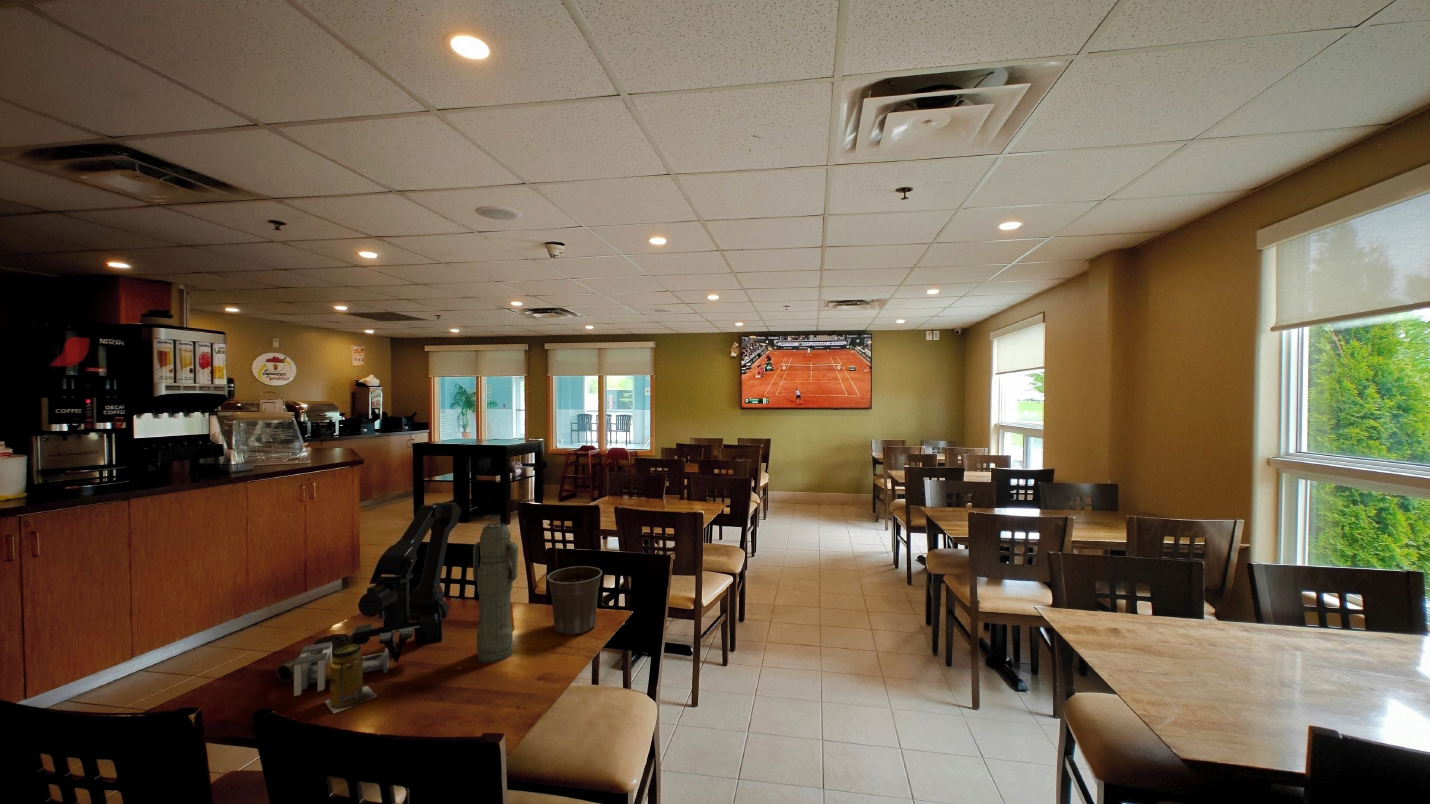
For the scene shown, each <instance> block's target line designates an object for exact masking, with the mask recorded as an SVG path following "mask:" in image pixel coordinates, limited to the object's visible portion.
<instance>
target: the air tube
mask: <svg viewBox="0 0 1430 804" xmlns="http://www.w3.org/2000/svg"><path fill="white" fill-rule="evenodd" d="M362 658H363V674H365V673H371V672H374V671H379V670H382V671H383V674H386V673H388V670H389V667H390V652H389V650H388V649H387V647H385V648H384V652H379V653H375V654H370V655H363V656H362ZM332 662H333V661H332ZM332 662H328V663H326V664H325V682H328V681H330V668H331V663H332ZM315 683H318V665H315V666H311V662H310V663H307V664H306V666H305V668H304V669H303V674H302V691H303V690H307V689H308V687H309V685H310V684H315Z"/></svg>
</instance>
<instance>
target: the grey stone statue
mask: <svg viewBox="0 0 1430 804" xmlns="http://www.w3.org/2000/svg"><path fill="white" fill-rule="evenodd" d="M510 553H511V556H510ZM518 553H519V547H518V545H517V544H516V542H512V540H511V531H510V530H509V526H508V525H507V524H505V523H503V522H502V523H501V522H495V523H489V524H486V525H485V526H483V527H482V530H481V534H480V538H479V541H477V542H475V544H474V545H473V547H472V576H473V581H474V582H475V583H476V584H477V586H476V591H477V594H478V599H479V601H478V602H479V603H478V606H479V607H478V611H479V612H478V615H479V616H478V630H477V633H476V650H477V657H476V659H477V660H478V661H479V662H480V663H484V664H488V663H489V664H491V663H497V662H500V661H504V660H506V659H508V658H509V657H511V656H512V654H513V647H512V646H513V643H514V642H513V641H514V640H513V638H514V637H513V636H514V635H513V634H514V633H513V632H514V631H513V629H514V627H513V624H512V620H511V615H512V614H511V612H512V611H511V610H512V609H511V607H512V606H511V605H512V604H511V600H512V599H511V596H512V595H511V594H512V593H511V591H512V589H513V587H514V586H513V582H514V581H515V580H516V579H517V578H518V557H519V554H518ZM479 556H480V560H479Z"/></svg>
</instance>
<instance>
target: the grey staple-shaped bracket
mask: <svg viewBox="0 0 1430 804" xmlns="http://www.w3.org/2000/svg"><path fill="white" fill-rule="evenodd" d="M320 650H323V652H322V653H321V654H315V655H310V652H314V651H320ZM299 656H300V657H299ZM299 656H298V658H297V657H296V658H297V659H296V661H295V663H294V680H293V696H294V697H296V696H301V695H302V692H303V690H302V686H303V674H302V666H303V669H304V668H305V666H306V664H307V663H310V662H316V661H318V682H317V692H320V691H324V690H325V688H326V681H325V664H326V663H328V662H333V661H332V659H333V658H332V642H328V643H322V644H316V645H314V644H311V645H306V646H303V648H302V650H301V652H300V655H299Z"/></svg>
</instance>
